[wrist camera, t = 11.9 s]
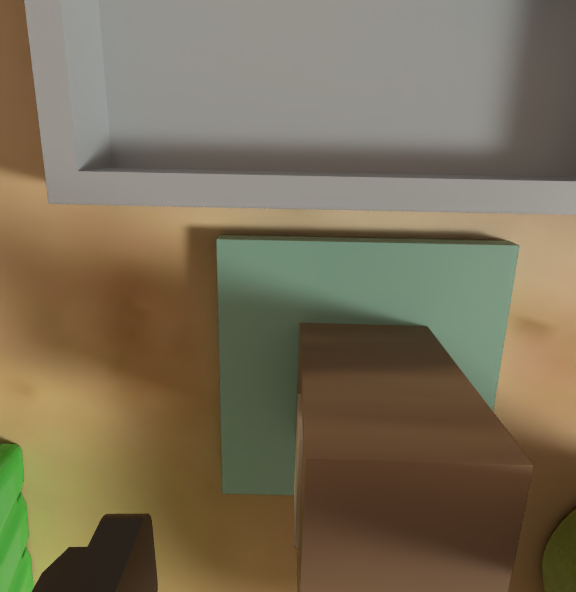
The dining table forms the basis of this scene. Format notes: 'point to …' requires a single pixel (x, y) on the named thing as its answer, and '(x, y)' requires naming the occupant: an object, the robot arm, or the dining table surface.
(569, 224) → the dining table surface
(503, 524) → the walnut box
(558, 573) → the plant pot
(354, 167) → the bin
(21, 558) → the fruit basket
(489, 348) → the coaster
